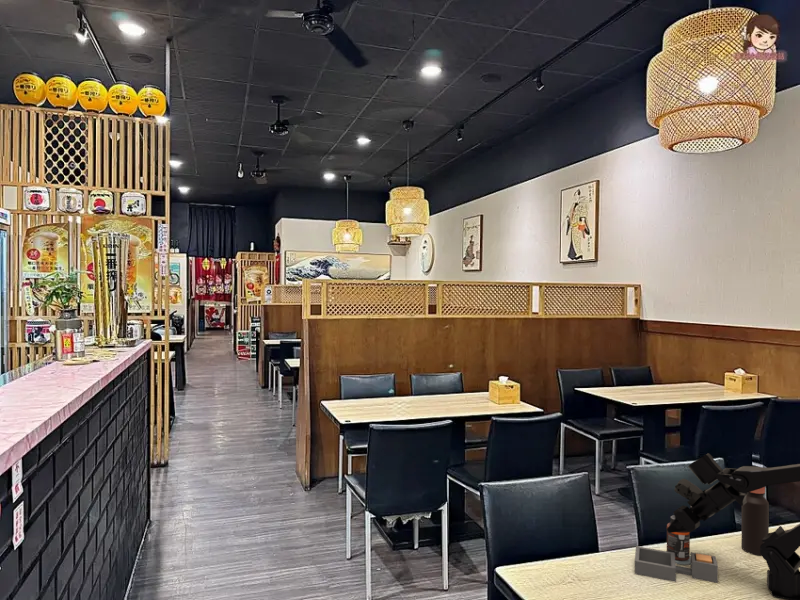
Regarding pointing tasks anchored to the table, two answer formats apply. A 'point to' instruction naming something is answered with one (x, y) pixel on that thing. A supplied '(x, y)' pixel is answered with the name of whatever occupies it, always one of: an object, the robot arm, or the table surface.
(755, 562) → the table surface
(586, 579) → the table surface
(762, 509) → the vinegar
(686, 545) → the supplement bottle
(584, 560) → the table surface
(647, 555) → the holder
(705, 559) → the orange-brown cube
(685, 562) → the coaster
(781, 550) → the robot arm
